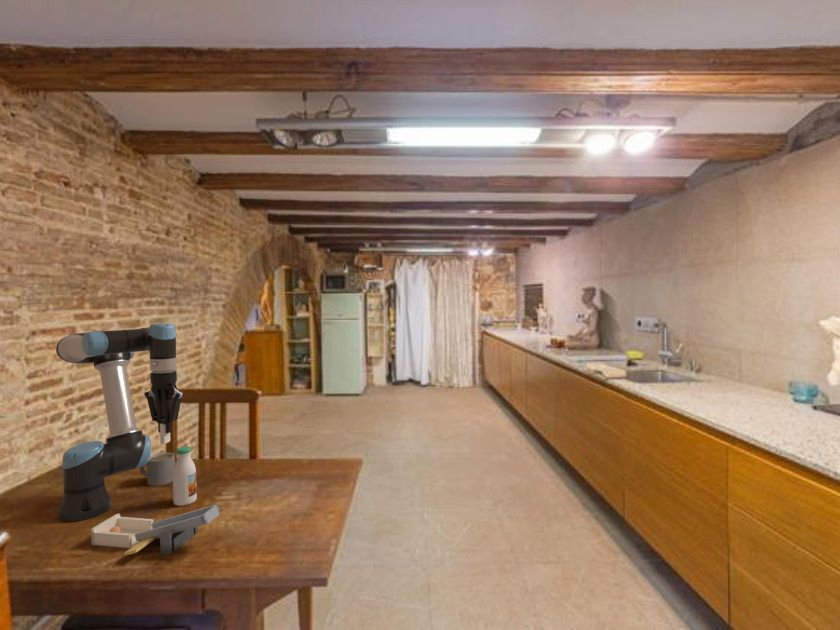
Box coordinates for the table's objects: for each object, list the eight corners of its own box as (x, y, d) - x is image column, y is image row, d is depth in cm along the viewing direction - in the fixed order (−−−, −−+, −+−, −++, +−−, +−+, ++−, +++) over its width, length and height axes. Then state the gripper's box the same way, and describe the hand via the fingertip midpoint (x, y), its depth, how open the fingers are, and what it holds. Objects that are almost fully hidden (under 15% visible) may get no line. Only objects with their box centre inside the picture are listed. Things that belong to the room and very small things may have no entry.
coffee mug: (180, 476, 192) (179, 453, 191) (163, 486, 182) (162, 461, 181) (152, 474, 194) (151, 451, 194) (134, 484, 184) (133, 459, 184)
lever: (119, 557, 131) (115, 547, 131) (158, 529, 147) (155, 520, 147) (190, 538, 127) (187, 527, 127) (223, 511, 143) (220, 502, 143)
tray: (91, 545, 139) (90, 529, 139) (117, 528, 149) (117, 513, 149) (129, 548, 137) (128, 532, 137) (153, 531, 147) (153, 516, 147)
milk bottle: (181, 508, 163) (179, 453, 162) (169, 503, 167) (167, 449, 166) (201, 499, 170) (199, 446, 169) (189, 495, 174) (187, 443, 173)
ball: (107, 528, 142) (115, 530, 142) (114, 523, 145) (123, 525, 145) (106, 537, 142) (115, 539, 142) (114, 532, 145) (122, 534, 145)
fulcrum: (160, 554, 134) (159, 532, 134) (188, 531, 147) (188, 511, 147) (169, 555, 134) (169, 533, 133) (197, 532, 146) (196, 512, 146)
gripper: (136, 372, 146) (139, 445, 147) (173, 373, 144) (175, 447, 145) (154, 368, 153) (156, 437, 154) (189, 369, 151) (191, 439, 152)
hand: (165, 442), depth 150 cm, fingers closed
